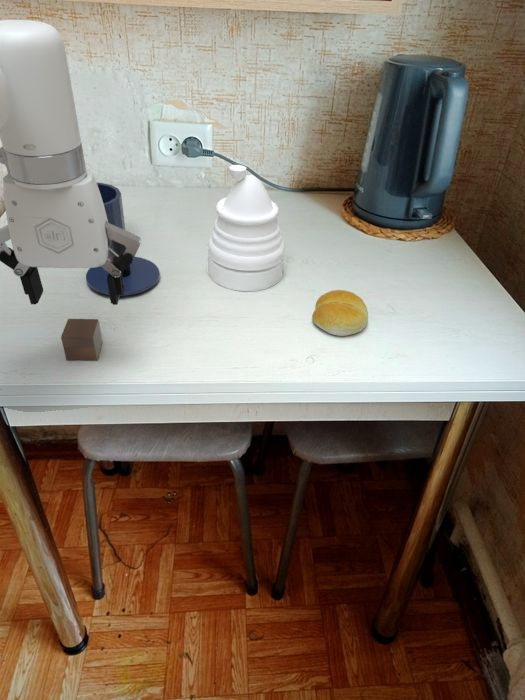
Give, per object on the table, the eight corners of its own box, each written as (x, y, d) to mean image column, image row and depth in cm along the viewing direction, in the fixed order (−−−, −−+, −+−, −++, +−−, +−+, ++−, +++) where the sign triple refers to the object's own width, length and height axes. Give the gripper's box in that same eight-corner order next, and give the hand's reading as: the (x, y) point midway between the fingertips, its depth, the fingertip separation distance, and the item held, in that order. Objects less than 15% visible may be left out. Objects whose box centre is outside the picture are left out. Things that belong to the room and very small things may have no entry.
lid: (94, 304, 77) (86, 262, 73) (81, 267, 85) (73, 227, 81) (168, 291, 82) (165, 250, 77) (149, 257, 90) (145, 218, 85)
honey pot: (218, 295, 81) (219, 186, 70) (200, 257, 91) (198, 154, 79) (293, 286, 85) (305, 180, 74) (268, 249, 94) (275, 151, 83)
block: (66, 360, 67) (60, 336, 65) (73, 341, 70) (67, 318, 68) (97, 360, 68) (92, 337, 65) (102, 342, 71) (98, 318, 68)
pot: (72, 271, 84) (62, 218, 78) (59, 229, 95) (48, 180, 89) (136, 261, 88) (130, 209, 82) (116, 222, 99) (110, 174, 93)
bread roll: (308, 332, 75) (311, 310, 73) (317, 300, 82) (321, 279, 80) (363, 343, 74) (369, 321, 72) (368, 310, 81) (373, 288, 78)
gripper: (-55, 173, 49) (-5, 315, 60) (126, 178, 51) (143, 316, 62) (-27, 147, 55) (15, 281, 66) (135, 152, 56) (150, 282, 67)
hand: (77, 298), depth 64 cm, fingers open, 9 cm apart
